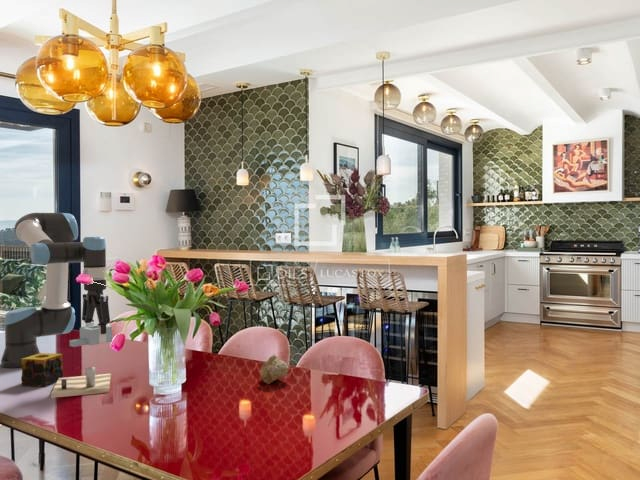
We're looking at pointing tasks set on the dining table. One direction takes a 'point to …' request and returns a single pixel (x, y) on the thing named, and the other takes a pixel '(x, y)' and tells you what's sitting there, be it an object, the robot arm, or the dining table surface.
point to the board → (81, 386)
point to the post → (90, 377)
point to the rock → (273, 369)
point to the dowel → (64, 383)
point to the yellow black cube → (41, 369)
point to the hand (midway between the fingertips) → (96, 341)
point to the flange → (90, 336)
